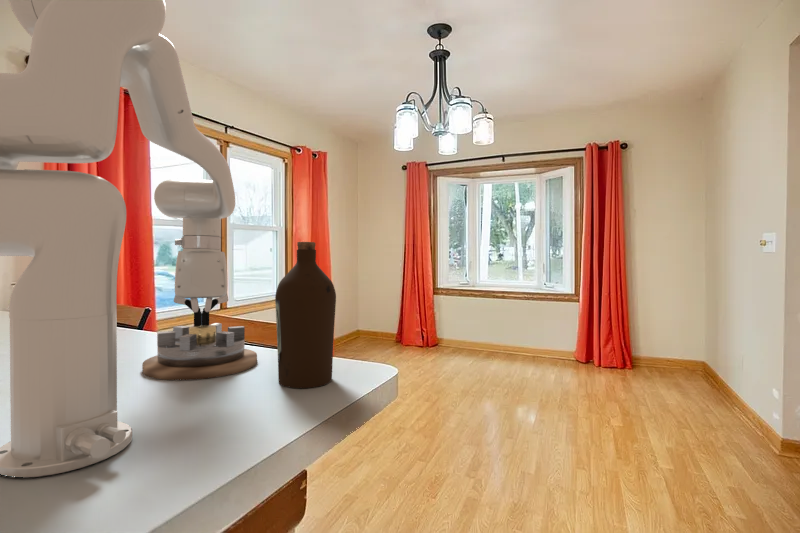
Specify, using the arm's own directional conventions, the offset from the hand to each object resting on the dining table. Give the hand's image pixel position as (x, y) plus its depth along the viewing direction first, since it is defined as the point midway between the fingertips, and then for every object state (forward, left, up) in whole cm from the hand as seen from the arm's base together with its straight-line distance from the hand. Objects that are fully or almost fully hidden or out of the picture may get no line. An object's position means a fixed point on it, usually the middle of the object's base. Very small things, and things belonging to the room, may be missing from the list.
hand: (201, 329), depth 93 cm
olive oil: (-30, +2, -7) cm, 31 cm away
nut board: (-5, +4, -6) cm, 9 cm away
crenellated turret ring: (-5, +4, -5) cm, 8 cm away
